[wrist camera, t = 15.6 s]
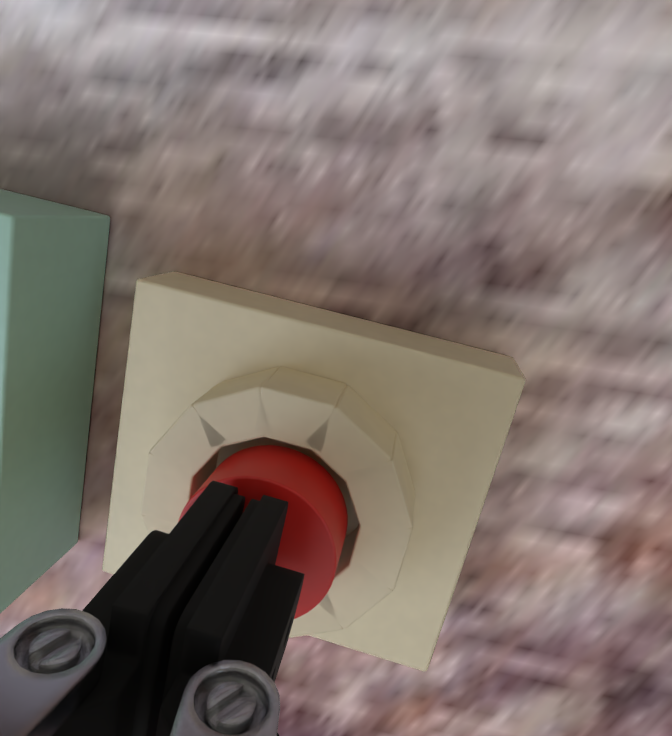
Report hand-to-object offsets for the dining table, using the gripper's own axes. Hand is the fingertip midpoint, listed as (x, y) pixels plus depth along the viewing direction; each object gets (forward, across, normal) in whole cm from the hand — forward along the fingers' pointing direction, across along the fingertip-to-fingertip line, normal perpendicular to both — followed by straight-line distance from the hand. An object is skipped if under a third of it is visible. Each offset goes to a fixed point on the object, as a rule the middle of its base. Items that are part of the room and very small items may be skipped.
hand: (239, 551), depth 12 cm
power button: (+2, 0, 0) cm, 2 cm away
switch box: (+6, 0, 0) cm, 6 cm away
